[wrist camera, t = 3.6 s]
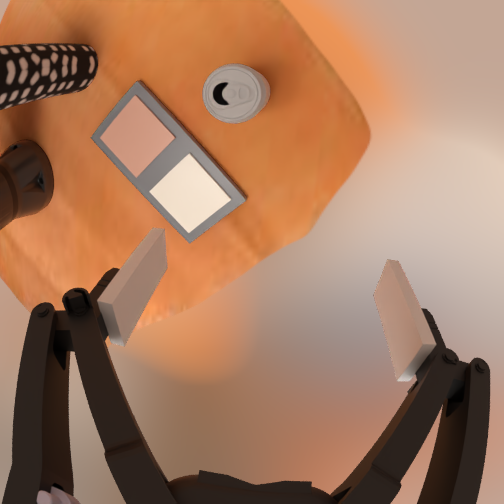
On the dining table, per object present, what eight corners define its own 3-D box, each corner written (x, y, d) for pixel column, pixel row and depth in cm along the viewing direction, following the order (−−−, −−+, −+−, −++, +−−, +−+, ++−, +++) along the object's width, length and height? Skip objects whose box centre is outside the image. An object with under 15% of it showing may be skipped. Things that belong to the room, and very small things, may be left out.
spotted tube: (80, 35, 31) (-16, 35, 14) (107, 62, 34) (8, 69, 17) (53, 73, 34) (-40, 92, 17) (77, 101, 37) (-17, 130, 20)
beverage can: (222, 70, 34) (197, 64, 24) (270, 69, 33) (264, 61, 23) (223, 114, 37) (199, 126, 27) (270, 114, 37) (265, 125, 27)
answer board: (94, 136, 40) (89, 138, 39) (140, 80, 35) (135, 81, 34) (191, 239, 48) (188, 244, 47) (247, 197, 43) (245, 201, 42)
